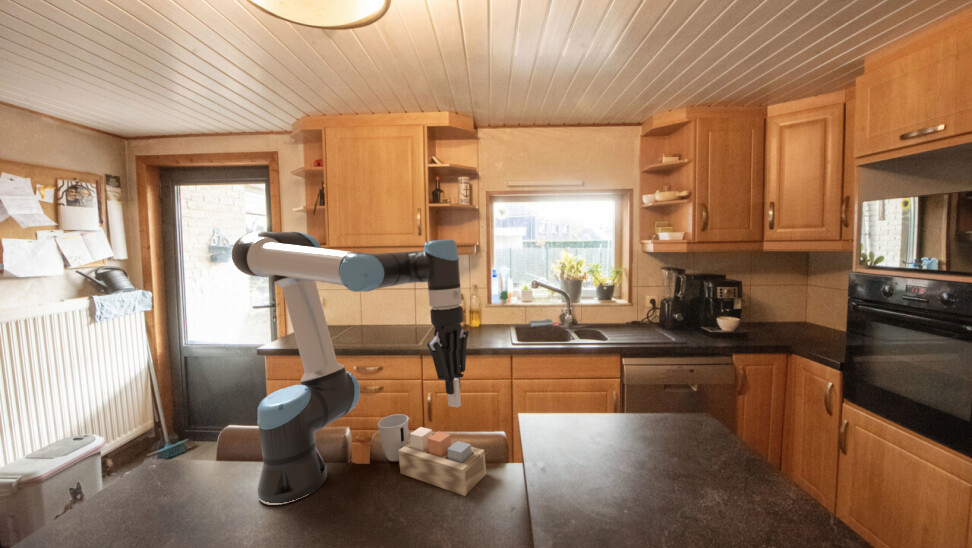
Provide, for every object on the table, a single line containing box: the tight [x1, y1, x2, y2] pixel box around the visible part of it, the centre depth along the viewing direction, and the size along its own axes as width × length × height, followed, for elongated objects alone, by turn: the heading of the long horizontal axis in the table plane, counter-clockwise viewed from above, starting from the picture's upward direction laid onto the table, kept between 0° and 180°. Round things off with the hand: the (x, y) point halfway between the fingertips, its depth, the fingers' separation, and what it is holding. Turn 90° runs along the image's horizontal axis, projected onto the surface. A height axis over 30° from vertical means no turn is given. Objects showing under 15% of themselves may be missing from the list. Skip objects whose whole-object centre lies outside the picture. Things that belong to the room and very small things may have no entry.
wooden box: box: [398, 441, 487, 497], centre depth 92 cm, size 20×9×6 cm, turn 57°
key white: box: [409, 426, 434, 452], centre depth 95 cm, size 4×4×6 cm
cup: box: [377, 413, 410, 462], centre depth 102 cm, size 8×8×10 cm
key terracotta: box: [428, 430, 452, 458], centre depth 92 cm, size 4×4×6 cm
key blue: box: [447, 440, 472, 463], centre depth 89 cm, size 4×4×6 cm
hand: (454, 405), depth 88 cm, fingers closed
